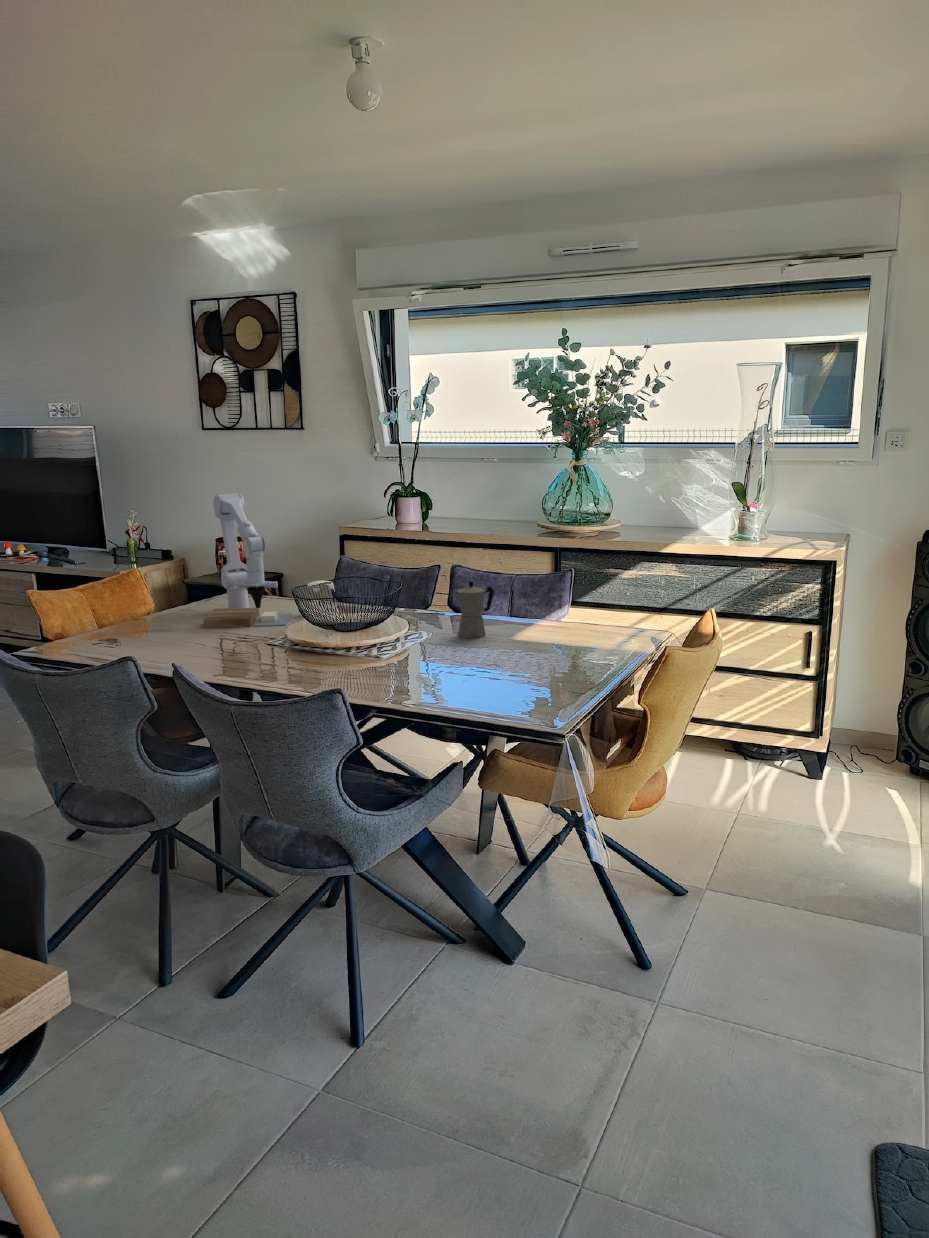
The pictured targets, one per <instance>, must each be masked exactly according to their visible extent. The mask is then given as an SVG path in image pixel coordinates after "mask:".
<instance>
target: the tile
mask: <svg viewBox="0 0 929 1238" xmlns="http://www.w3.org/2000/svg"><path fill="white" fill-rule="evenodd" d="M278 614H279V612H278V611H263V612H262V613H261V614H260V615H259V617H260V618H261V622H271V621H276V619H277V618H278Z"/></svg>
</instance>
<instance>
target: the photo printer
mask: <svg viewBox="0 0 929 1238" xmlns="http://www.w3.org/2000/svg"><path fill="white" fill-rule="evenodd" d="M324 582H331V581H329V580H315V581H311V582H309V583H307V585H306V587H307V586H312V585H317V584H320V583H324ZM326 585H329V588H330V589H333V590H334V591H335V586H334V585H335V584H334V582H332V583H331V584H326ZM317 587H319V586H317ZM313 590H314V591H315V592H318V591H319V588H314V587H313Z"/></svg>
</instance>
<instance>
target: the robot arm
mask: <svg viewBox="0 0 929 1238" xmlns="http://www.w3.org/2000/svg"><path fill="white" fill-rule="evenodd" d="M244 499H245V498H244V496H243V495H242V493H240V492H236V493H226V494H215V495H214V496H213V503H212V504H213V509H214V514H215V517H216V518H217V519H218V520H219V521H220V527H221V532H222V539H223V544H224V550H225V557H226V564H224V565H223V566H222V568H221V569H220V581H221V585H222V587H223V588H224V589H226V595H227V607H228V608H252V606H250V605H249V603H250V602H249V595H250V596H251V598H252V600H253V602H254V606H255V607H256V608H259V609H260V608H261V605H262V599H263V596H264V593H265V590H266V588H274V589H275V588H278V586H279V585H278V581H276V580H275V581H272V580H271V581H270V580H265V569H264V568H265V566H264V554H263V553H264V551H265V549H266V541H265V539H264V536H263V535H261V534H259V533H258V532H257V531H256V529H255V526H254V524H253V523H252V522H251V521H249V520H248V519H247V516H246V514H245V511H244V508H245V500H244ZM235 523H236V524H237V528H236V524H235ZM236 530H237V531H236ZM237 532H238V535H239V536H240V539H241V541H242V548H243V552H244V557H245V559H246V564H245V563H244V562H242V561H241V557H240V549H239V543H238V537H237Z"/></svg>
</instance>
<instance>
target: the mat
mask: <svg viewBox="0 0 929 1238" xmlns="http://www.w3.org/2000/svg"><path fill="white" fill-rule="evenodd" d="M292 614H293V613H292V612H291V613H287V612H286V613H284V612H283V613H278V618H277V619H276V621H271V622H261V618H260V616H258V618H257V619H256V620H255V621H256V622H254V623H253V627H254V626H257V627H283V626H284V627H285V626H286V625H287V624H288V622H289V620H290V619H291V616H292ZM286 623H287V624H286Z"/></svg>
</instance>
